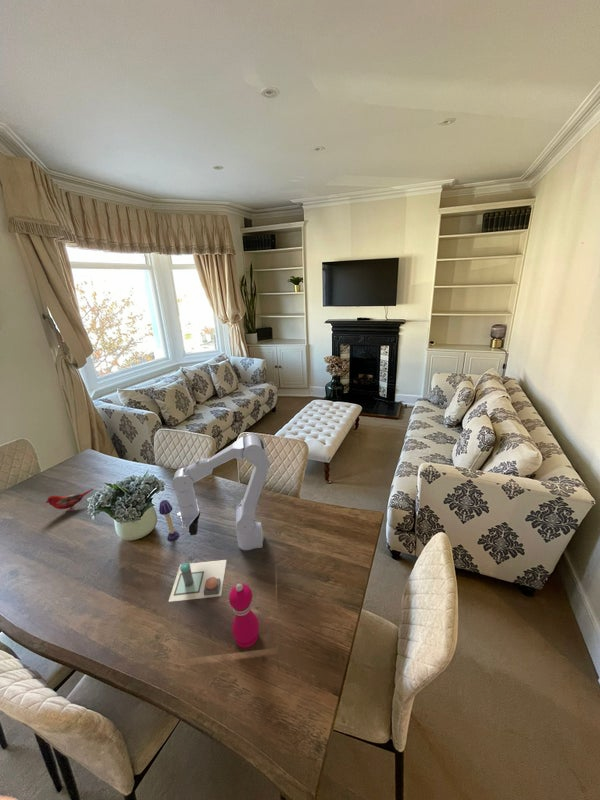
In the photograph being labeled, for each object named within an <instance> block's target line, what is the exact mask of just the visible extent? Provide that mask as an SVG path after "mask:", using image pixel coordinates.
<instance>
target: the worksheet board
mask: <svg viewBox="0 0 600 800" xmlns="http://www.w3.org/2000/svg"><path fill="white" fill-rule="evenodd" d="M182 564H183V563H182ZM182 564H181V563H180V565H179V567H178V570H177V573H176V577H175V580H174V583H173V586H172V588H171V589H172V590H171V593H170V595H169V598H168V603H172V602H179V601H181V602H182V601H188V600H196V599H197V600H198V599H206V598H207V599H208V598H213V597H214V598H215V597H221V596H222V591H223V586H224V585H223V584H224V578H225V571H226V567H227V559H221V560H212V561H209V560H208V561H202V562H192V563H190V562H189V564H190V569H191V573H192V577H193V581H194V582H193V584H192V585H191V586H189V587H187V586H185V584H184V580H183V576H182V572H181V570H180V567H181V565H182ZM210 577H215V578H217V582H218V585H217V587H216V588H214V589H212V590H209V589H207V588H206V584H205V583H206V580H207V579H208V578H210Z"/></svg>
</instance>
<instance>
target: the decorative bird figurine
mask: <svg viewBox="0 0 600 800" xmlns="http://www.w3.org/2000/svg"><path fill="white" fill-rule="evenodd" d="M93 490H94V488H91V489H89V490H87V491H85V492H83V493H80V494H79V493H78V494H77V493H76V494H70V495H64V496H63V495H62V496H61V495H50V496H48V498H47V501H45V504H49V505H50V506H52V507H53V508H55V509H58V510H64V511H62V513H66V512H69V511H71V510H74V509H75V508H76V507H75V505H76V504H78V503H79V502H81V500H82V499H83V498H84V496H86V495H87V494H89V493H90V492H92V491H93Z"/></svg>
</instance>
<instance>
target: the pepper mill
mask: <svg viewBox="0 0 600 800" xmlns="http://www.w3.org/2000/svg"><path fill="white" fill-rule="evenodd" d="M228 600H229V601H228V603H229V605H230V607H232V611H233V613H234V614H235V616H234V618H233V621H232V625H231V633H232V636H233V638H234V640H235V643H236V644H237V646H239V647H240V648H249V647H252V646H253V645H255V643H256V642H257V640H258V639H259V628H260V623H259V619H258V617H257V615H256V614H255V613H254V611H252V605H253V604H252V602H253V601H252V600H253V591H252V589H251V587H250V586H249V584H245V583H238V584H236V585H234V586H233V588H232V589H231V590H230V592H229V595H228Z"/></svg>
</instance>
